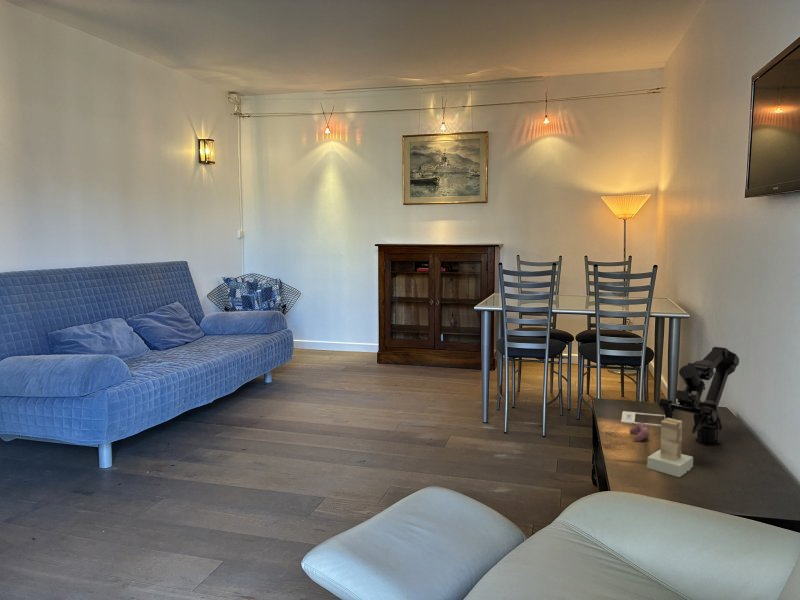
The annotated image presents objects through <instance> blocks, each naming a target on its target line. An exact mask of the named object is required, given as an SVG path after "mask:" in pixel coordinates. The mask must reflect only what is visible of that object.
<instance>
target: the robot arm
mask: <svg viewBox="0 0 800 600" xmlns="http://www.w3.org/2000/svg"><path fill="white" fill-rule="evenodd" d="M739 363H740V358H739V356H738V355H737V354H736V353H734V352H732V351H730V350H729V349H728V348H726V347H722V346H713V347H712V349H711V351H710V352H709V353H708V354H707V355H706V356H705V357H704V358H703V359H701V360H696V361H694V362H692V363H691V362H688V363H687V365H684V366H683V365H682V367H680V369H679V371H678V374H679V375H680V378H681V379H682V381H683V384H684V385H686V386H685V389H683V390H680V389H676V391H675V397H674V399H676V401H677V403H678V404H675V403H673V401H672V399H669V398H664V397H662V398H660V399H659V400H658V401H657V402H658V403H657V404H658V406H659V408H660V410H661V411H662V412H663V413H664V415H665V416H664V420H665V419H666V418H671V419H673V417H674V413H673V412H675V411H681V412H685V413H691V414H693V421H694V425H693V427H692V431H691V434H693V435H694V434H695V433H697V435H696V438H695V439H694V440H695V441H697V442H699V443H701V444H702V445H705V446H712V445H713V446H714V445H721V444H722V443H721V441H719V431H722V430H723V426H724V421H723V419H722V417H721V413H720V409H719V405H720V404H719V403H720V401H721V397H722V395H723V392H724V389H725V386H726V384H727V380H728V379H729V378H728V377H729V376H730V375H731V374H732V373H734V372H735V371H736V369H737V367H738V366H739ZM714 369H715V371H714ZM711 379H712V380H711ZM710 380H711V381H710ZM704 381H710V385H709V388H708V390H707V394H706V397H705V400H704V401H702V400H701V397H702V395H703V392H704V391H705V390H706V384H705V382H704Z"/></svg>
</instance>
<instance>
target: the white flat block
mask: <svg viewBox="0 0 800 600" xmlns="http://www.w3.org/2000/svg"><path fill="white" fill-rule="evenodd" d="M660 452H661V448H660V449H659V450H657V451H655V452H653V453H652V454H650V455H649V456H647V466H646V468H647V469H649V470H652V471H657V472H660V473H663V474H667V475H670V476H673V477H676V478H681V477H682V476H684V475H685V474H686V473H688V472H689V471H691V470H692V469H693V468H692V467H693V466H694V456H691V455H688V454H683V453H681V457H680V458H679V459H677V460H676V461H673V460H669V459H665V458H662V457H660ZM691 468H692V469H691ZM687 471H688V472H687Z"/></svg>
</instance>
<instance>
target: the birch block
mask: <svg viewBox="0 0 800 600" xmlns="http://www.w3.org/2000/svg"><path fill="white" fill-rule="evenodd" d="M660 423H661V424H660V425H661V426H660V449H661V452H660V457H662V458H665V459H669V460H673V461H676V460H677V459H679V458H680V457H681V454H682V436H683V435H682V434H683V420H678V419H675V418H672V419H671V418H666V419H665V418H664V419H663V420H661V422H660Z"/></svg>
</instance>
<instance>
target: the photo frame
mask: <svg viewBox="0 0 800 600" xmlns="http://www.w3.org/2000/svg"><path fill="white" fill-rule="evenodd" d="M636 415H641V416H643V415H644V416H653V417H654V416H655V417H665V414H656V413H654V414H653V413H644V412H635V411H634V412H633V411H623V410H622V414H621V420H620V422H621V423H622V422H623V424H632V423H633V424H632V425H634V424H635V425H637V424H638V423H639V422H637V421H635V419H636ZM643 423H644V424H646V425H647V426H651V427H652V426H653V427H661V424H658V423H657V424H656V423H647V422H643Z"/></svg>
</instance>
